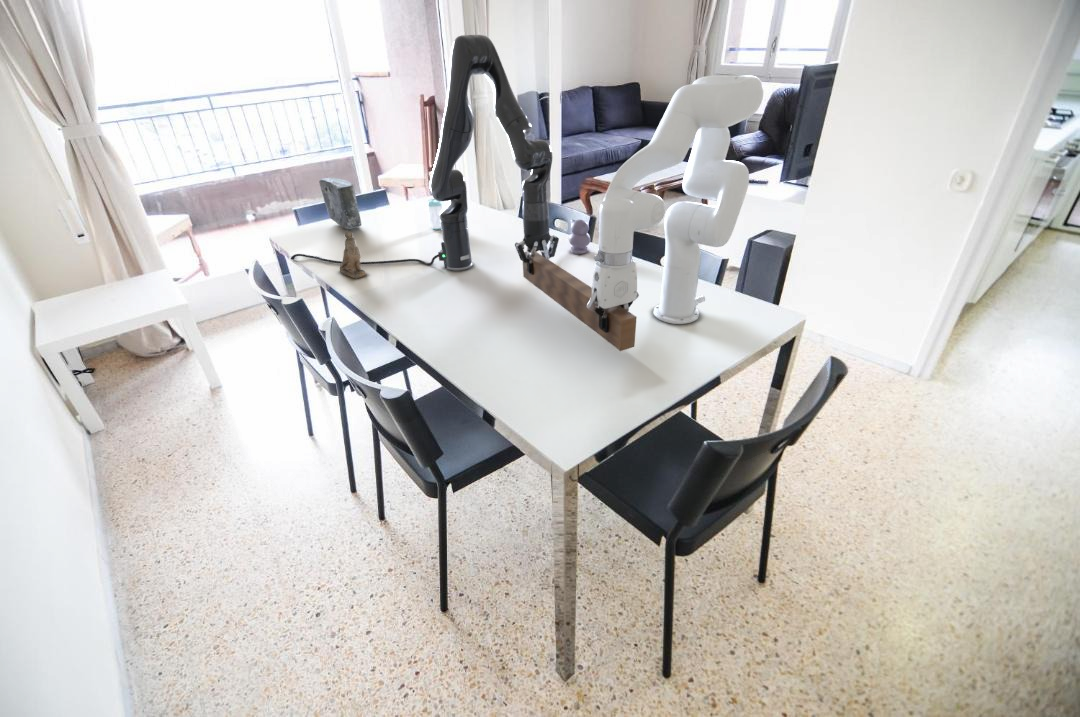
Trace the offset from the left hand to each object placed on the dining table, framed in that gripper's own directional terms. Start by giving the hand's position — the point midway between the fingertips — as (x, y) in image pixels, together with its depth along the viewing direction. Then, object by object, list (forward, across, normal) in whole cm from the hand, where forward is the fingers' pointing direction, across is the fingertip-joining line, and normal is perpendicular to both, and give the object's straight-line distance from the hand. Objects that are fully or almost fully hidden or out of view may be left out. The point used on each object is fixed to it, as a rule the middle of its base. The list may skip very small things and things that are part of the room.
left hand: (538, 272), depth 151 cm
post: (+3, 0, -20) cm, 20 cm away
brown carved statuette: (+8, -48, +53) cm, 72 cm away
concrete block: (+8, -41, +116) cm, 123 cm away
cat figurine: (+9, +32, +30) cm, 45 cm away
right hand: (+1, 0, -40) cm, 40 cm away
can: (+9, -5, +90) cm, 91 cm away
